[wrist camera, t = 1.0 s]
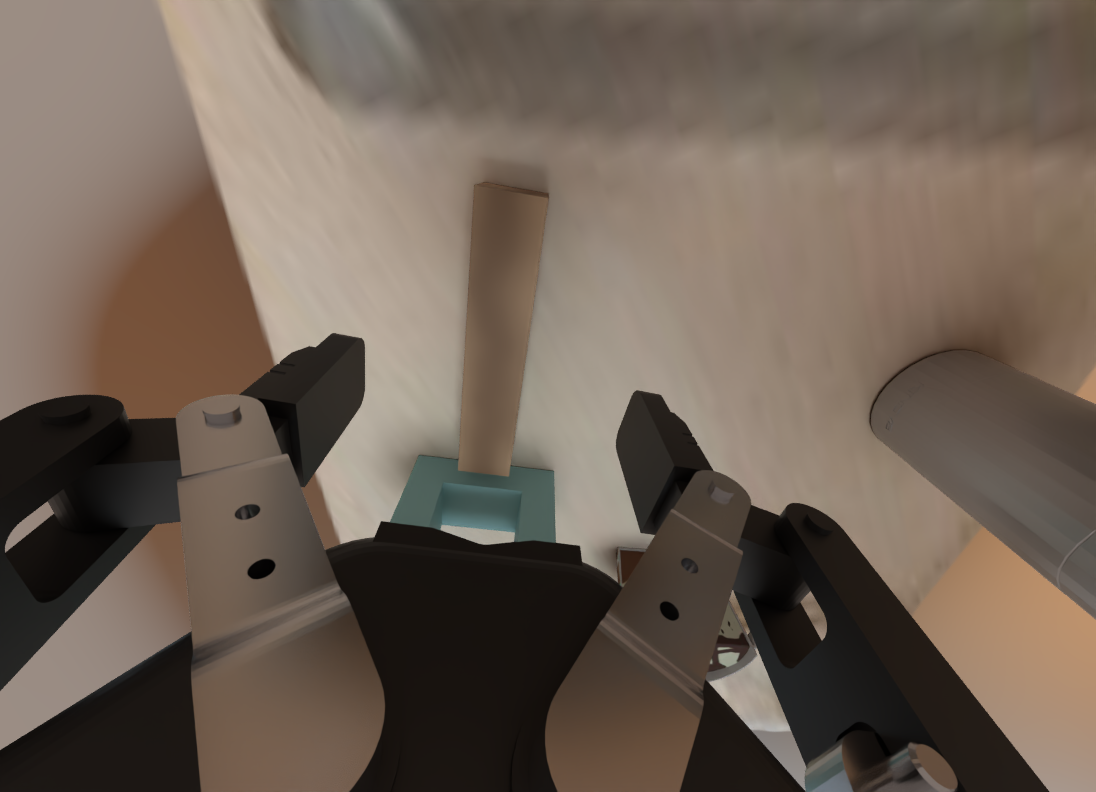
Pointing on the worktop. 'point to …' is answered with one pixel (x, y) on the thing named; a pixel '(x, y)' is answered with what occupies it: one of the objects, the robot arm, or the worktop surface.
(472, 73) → the worktop surface
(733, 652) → the food container
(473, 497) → the light blue hollow block
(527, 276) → the brown rectangular block
